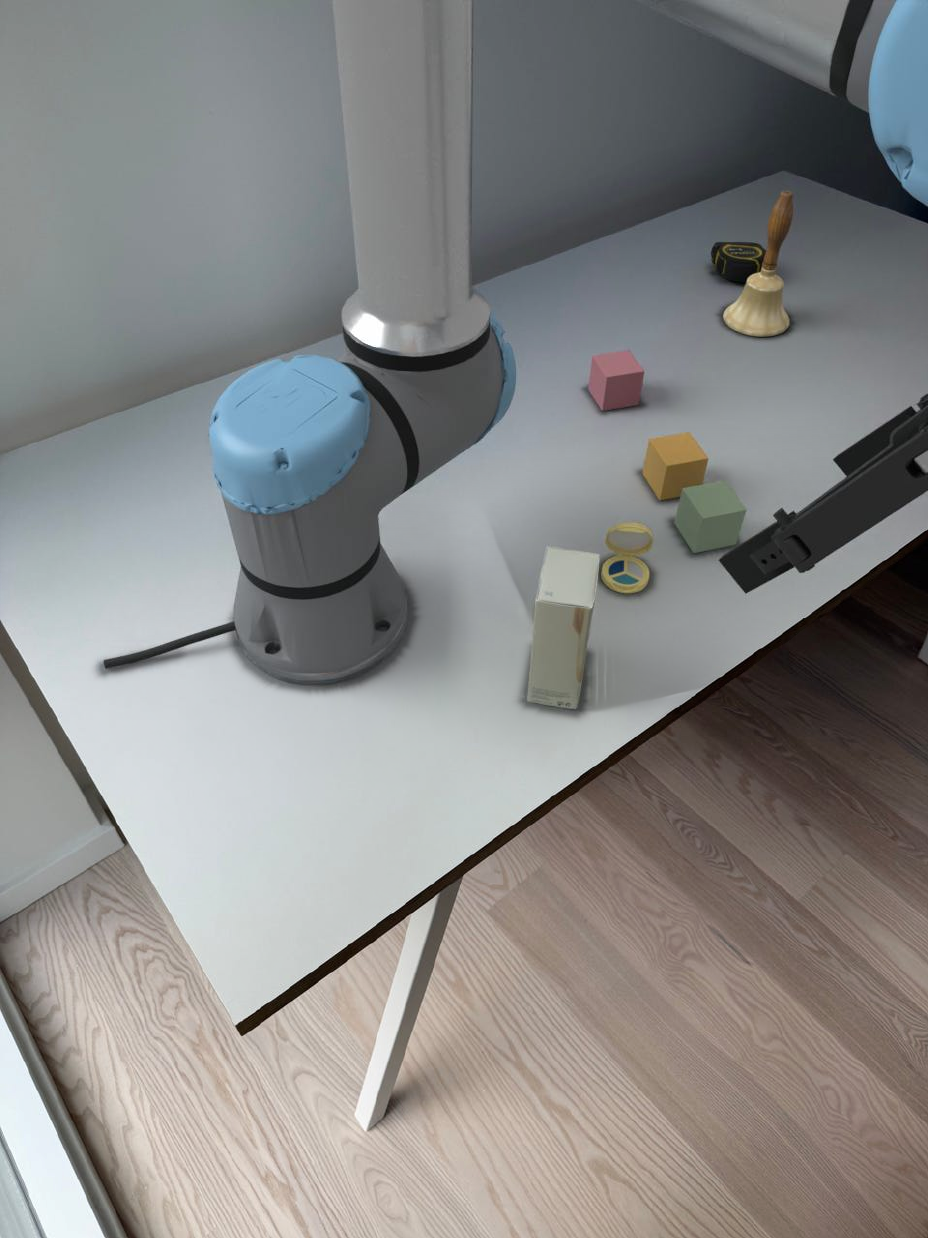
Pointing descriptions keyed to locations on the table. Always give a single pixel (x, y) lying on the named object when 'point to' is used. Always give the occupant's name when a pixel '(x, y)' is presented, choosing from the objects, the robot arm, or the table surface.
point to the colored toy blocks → (672, 461)
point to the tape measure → (737, 259)
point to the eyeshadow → (627, 557)
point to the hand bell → (765, 282)
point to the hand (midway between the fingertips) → (794, 520)
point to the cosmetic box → (562, 626)
